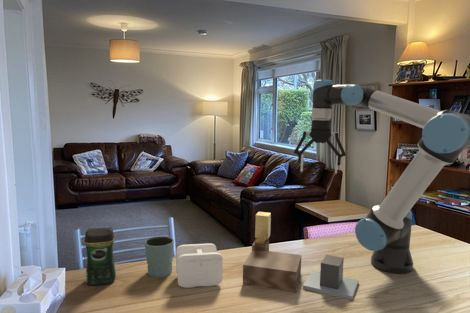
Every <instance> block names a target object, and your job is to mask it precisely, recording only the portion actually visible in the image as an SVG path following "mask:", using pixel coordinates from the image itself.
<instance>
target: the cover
mask: <svg viewBox="0 0 470 313" xmlns="http://www.w3.org/2000/svg"><path fill="white" fill-rule="evenodd" d="M344 259H345V258H344V257H342V256H336V255H330V254H325V255H324V257H323V259H322V261H321V262H320V271H316V270H312V272H311V273H310V274H309V276H308V277H307V279H306V281H305V282H304V283H303V285H302V289H303V290H307V291H311V292H316V293H321V294H325V295H328V296H329V295H330V296H332V297H333V296H334V297H338V298H342V299H347V300H354V296H355V293H356V291H357V287H358V286H359V282H360V281H359V279H355V278H351V277H345V276H344Z"/></svg>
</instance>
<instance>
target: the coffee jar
mask: <svg viewBox="0 0 470 313" xmlns="http://www.w3.org/2000/svg"><path fill="white" fill-rule="evenodd" d="M83 242H84V246H85V249H86V270H85V281H86V284H87V285H90V286H100V285H107V284H112V283H113V282H114V281H115V280H116V278H117V275H116V274H117V272H116V267H115V266H116V265H115V260H114V249H113V248H114V247H113V246H114V243H115V233H114V229H113V227H111V226H110V227H109V226H108V227H97V228H95V227H93V228H88V229H87V230H86V231H85V232H84V240H83Z"/></svg>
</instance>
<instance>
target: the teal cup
mask: <svg viewBox="0 0 470 313" xmlns="http://www.w3.org/2000/svg"><path fill="white" fill-rule="evenodd" d="M174 245H175V244H174V239H173V238H172V237H170V236H166V235H161V236H160V235H157V236H151V237H149V238H147V239H145V241H144V248H145V254H146V264H147V267H146V268H147V274H148V276H150V277H152V278H158V279H159V278H165V277H168V276H170V275H171V274H172V272H173V257H174Z"/></svg>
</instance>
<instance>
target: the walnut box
mask: <svg viewBox="0 0 470 313" xmlns="http://www.w3.org/2000/svg"><path fill="white" fill-rule="evenodd" d="M256 240H257V238H255V240H254V241H253V243H252V244H251V251H250V254H249V255H247V256H248V257H247V258H246V259H245V261H244V263H243V265H242V285H243V286H252V287H256V288H262V289H264V288H265V289H269V290H270V289H271V290H277V291H286V292H291V293H296V292H297V289H298V286H299V281H300V278H301V277H300V276H301V273H302V272H301V271H302V254H295V253H287V252H278V251H271V250H270V239H269V238H268V239H266V241H265V243H264V244H256Z"/></svg>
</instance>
